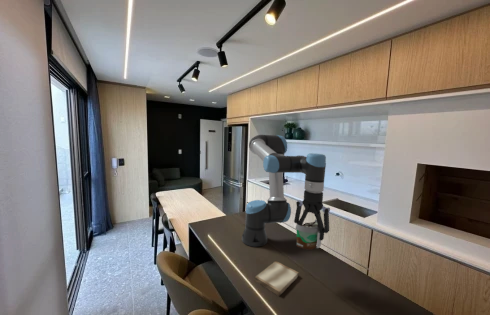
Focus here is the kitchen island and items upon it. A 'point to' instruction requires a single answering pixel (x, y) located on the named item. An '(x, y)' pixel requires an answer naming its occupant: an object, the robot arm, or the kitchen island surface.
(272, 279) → the board
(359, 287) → the kitchen island surface
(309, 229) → the food container
